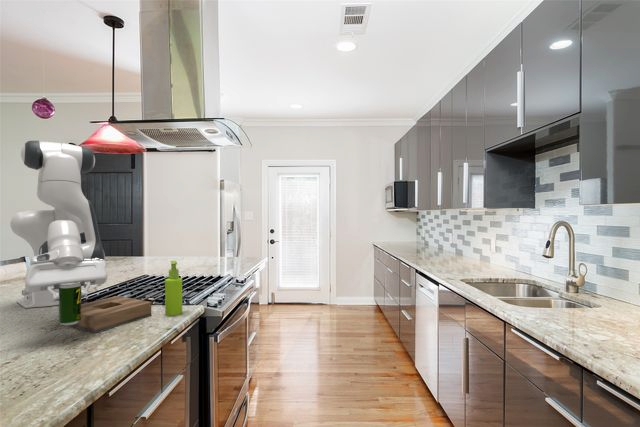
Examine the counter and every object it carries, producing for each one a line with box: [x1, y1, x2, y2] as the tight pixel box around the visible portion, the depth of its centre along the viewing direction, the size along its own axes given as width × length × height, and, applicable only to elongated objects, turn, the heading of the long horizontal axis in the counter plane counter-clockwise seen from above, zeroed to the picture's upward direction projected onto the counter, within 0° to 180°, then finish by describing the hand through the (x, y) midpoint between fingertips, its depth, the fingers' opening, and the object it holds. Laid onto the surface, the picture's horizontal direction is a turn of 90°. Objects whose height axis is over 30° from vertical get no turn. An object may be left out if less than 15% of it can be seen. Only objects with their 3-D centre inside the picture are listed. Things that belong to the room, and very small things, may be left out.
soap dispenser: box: [164, 260, 183, 317], centre depth 127 cm, size 6×7×20 cm
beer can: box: [58, 281, 82, 326], centre depth 101 cm, size 5×5×12 cm
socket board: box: [67, 295, 152, 334], centre depth 121 cm, size 20×20×5 cm
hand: (70, 298), depth 101 cm, fingers closed on beer can, 5 cm apart
